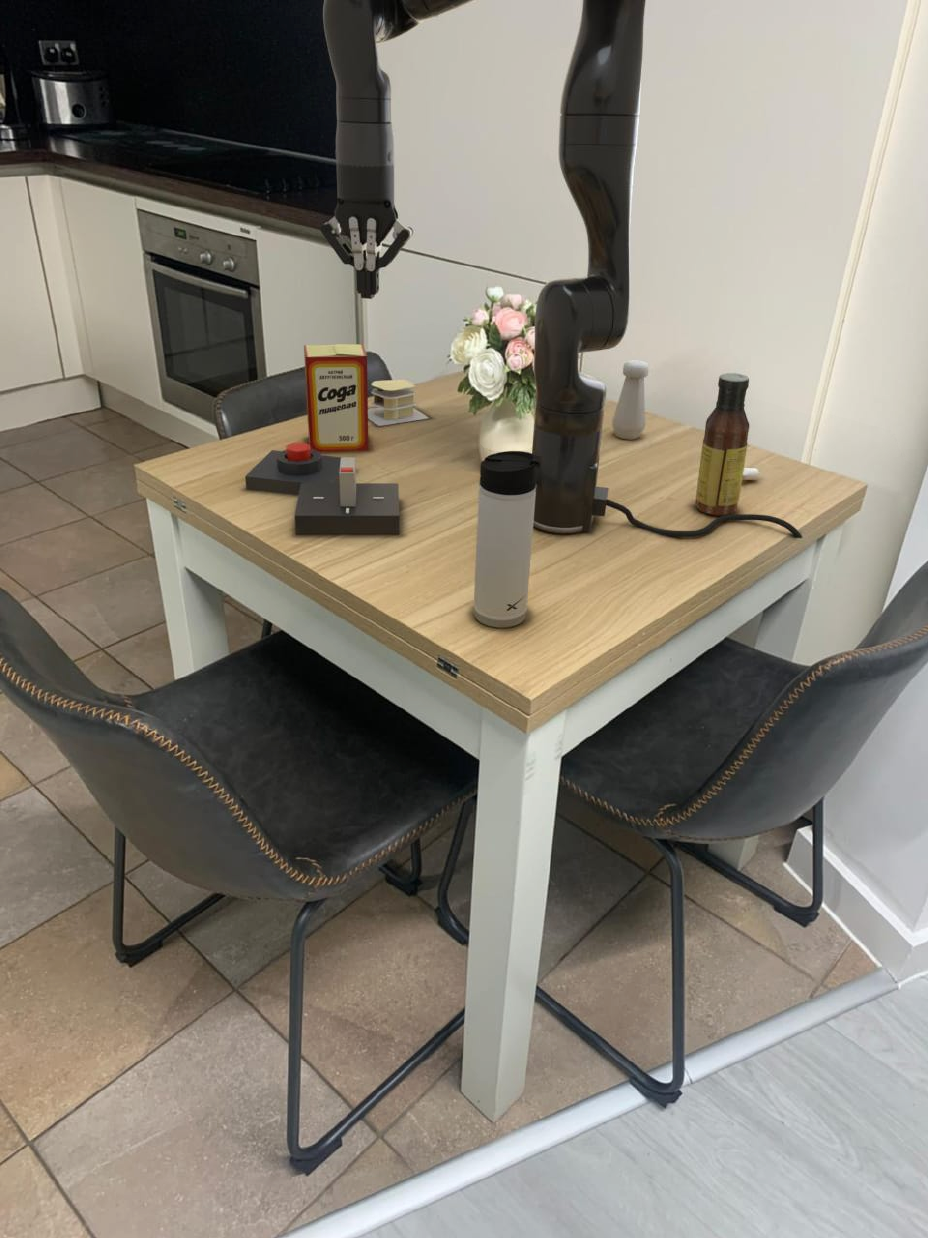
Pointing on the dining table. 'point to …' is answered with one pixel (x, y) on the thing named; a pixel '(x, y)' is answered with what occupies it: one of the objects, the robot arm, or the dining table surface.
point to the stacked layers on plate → (393, 403)
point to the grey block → (347, 481)
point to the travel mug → (504, 537)
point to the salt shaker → (631, 402)
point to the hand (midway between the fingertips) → (367, 297)
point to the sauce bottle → (724, 449)
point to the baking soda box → (337, 397)
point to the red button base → (292, 472)
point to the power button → (298, 452)
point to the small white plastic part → (750, 474)
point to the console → (347, 510)
